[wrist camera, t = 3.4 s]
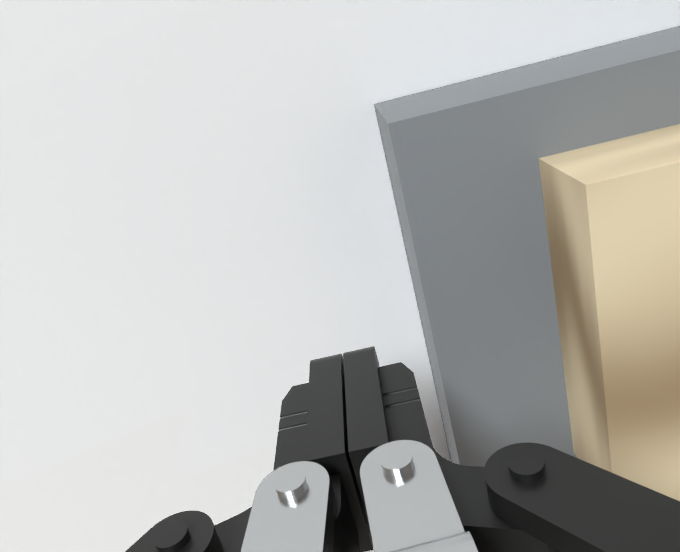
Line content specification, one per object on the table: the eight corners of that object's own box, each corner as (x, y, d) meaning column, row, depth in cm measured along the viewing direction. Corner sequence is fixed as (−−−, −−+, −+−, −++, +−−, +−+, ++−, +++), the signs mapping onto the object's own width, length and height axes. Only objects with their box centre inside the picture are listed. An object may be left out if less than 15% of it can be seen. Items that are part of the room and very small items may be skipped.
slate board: (374, 104, 16) (388, 123, 12) (826, -12, 15) (986, -28, 12) (491, 646, 24) (521, 756, 20) (792, 590, 23) (880, 694, 20)
